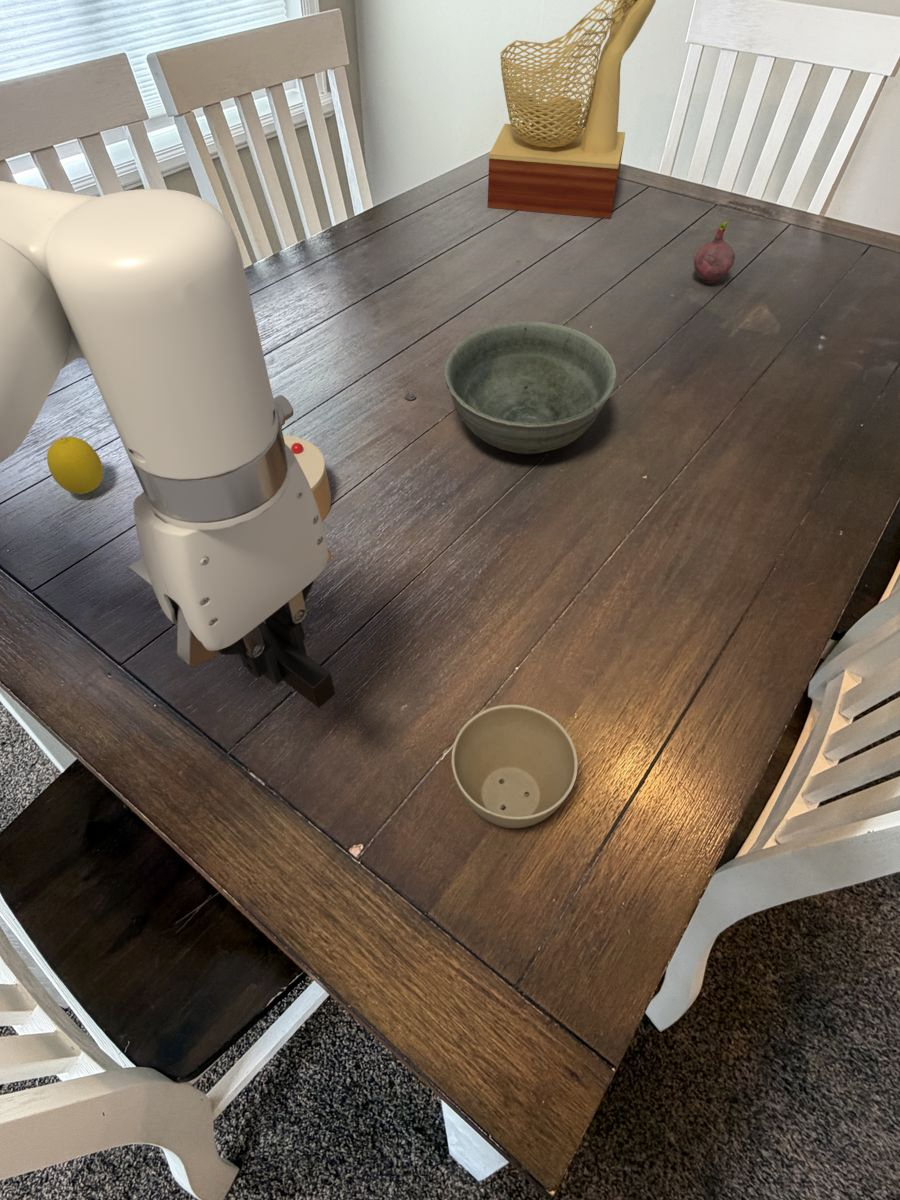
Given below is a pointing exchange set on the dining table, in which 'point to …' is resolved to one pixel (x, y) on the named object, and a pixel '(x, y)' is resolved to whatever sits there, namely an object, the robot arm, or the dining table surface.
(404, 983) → the dining table surface
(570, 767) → the flower pot
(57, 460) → the lemon
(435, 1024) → the dining table surface
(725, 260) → the vegetable
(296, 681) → the knife
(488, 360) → the bowl
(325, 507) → the cake
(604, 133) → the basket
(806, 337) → the dining table surface
